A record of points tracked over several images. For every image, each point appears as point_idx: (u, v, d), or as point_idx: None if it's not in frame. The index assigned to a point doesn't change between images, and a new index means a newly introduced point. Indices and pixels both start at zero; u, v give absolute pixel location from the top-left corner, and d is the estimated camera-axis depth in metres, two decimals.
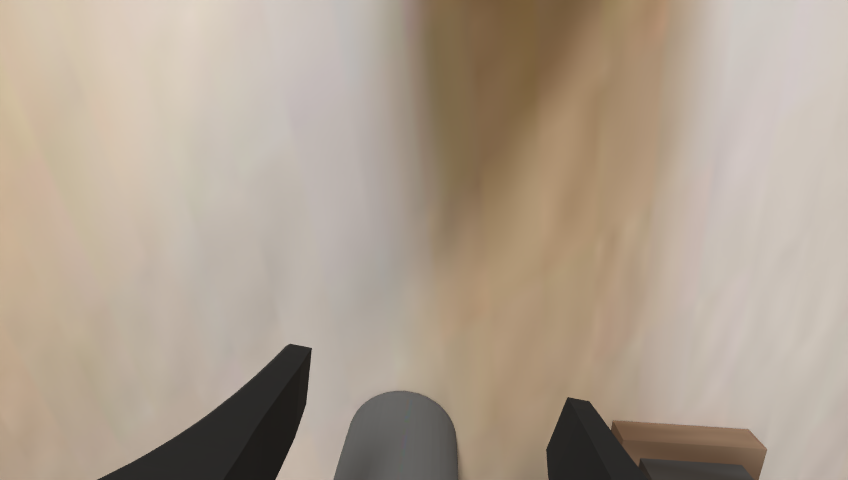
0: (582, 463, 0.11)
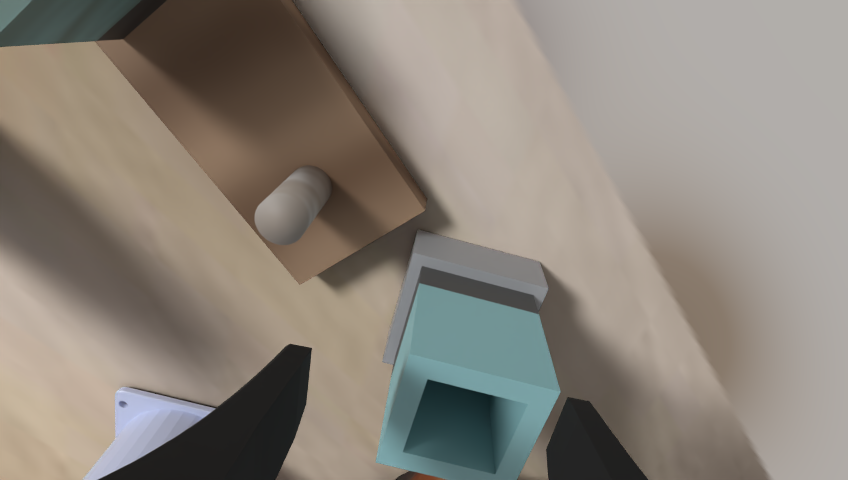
0: (582, 463, 0.11)
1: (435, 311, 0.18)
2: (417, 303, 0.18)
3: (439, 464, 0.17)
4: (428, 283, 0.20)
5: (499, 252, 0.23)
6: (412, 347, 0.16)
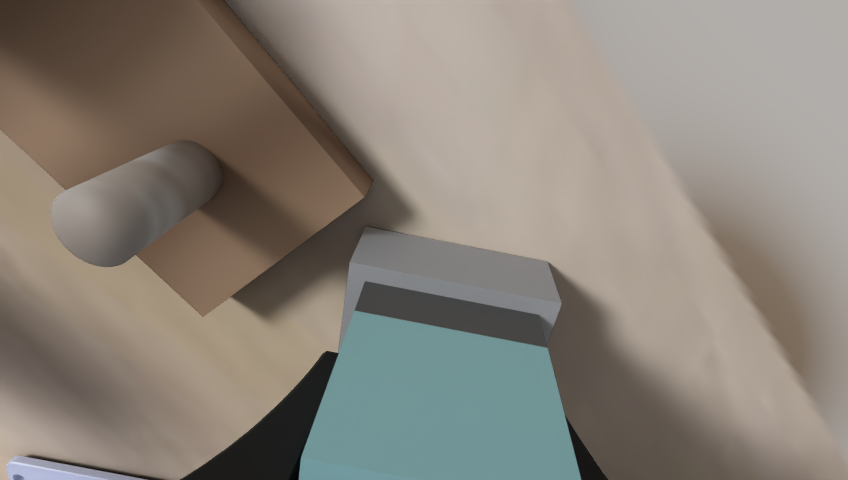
0: None
1: (371, 361, 0.11)
2: (342, 347, 0.11)
3: None
4: (369, 309, 0.12)
5: (487, 252, 0.16)
6: (311, 440, 0.09)
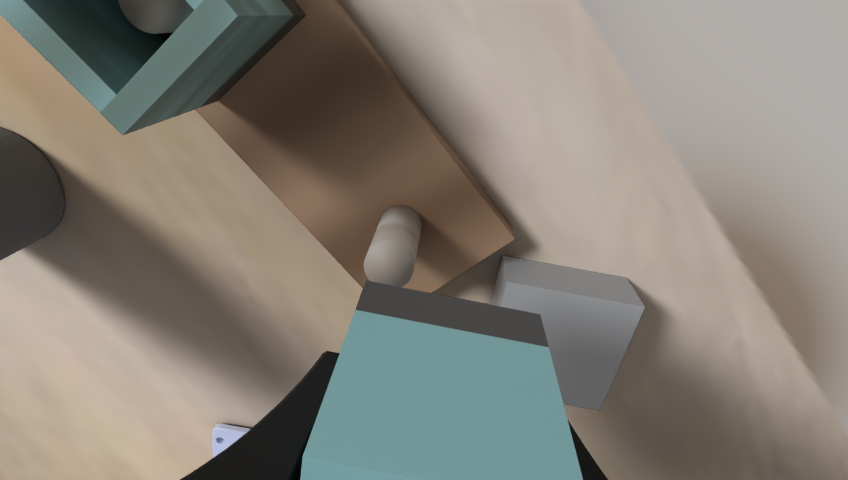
0: None
1: (372, 360, 0.11)
2: (343, 347, 0.11)
3: None
4: (370, 308, 0.12)
5: (586, 272, 0.23)
6: (312, 440, 0.09)
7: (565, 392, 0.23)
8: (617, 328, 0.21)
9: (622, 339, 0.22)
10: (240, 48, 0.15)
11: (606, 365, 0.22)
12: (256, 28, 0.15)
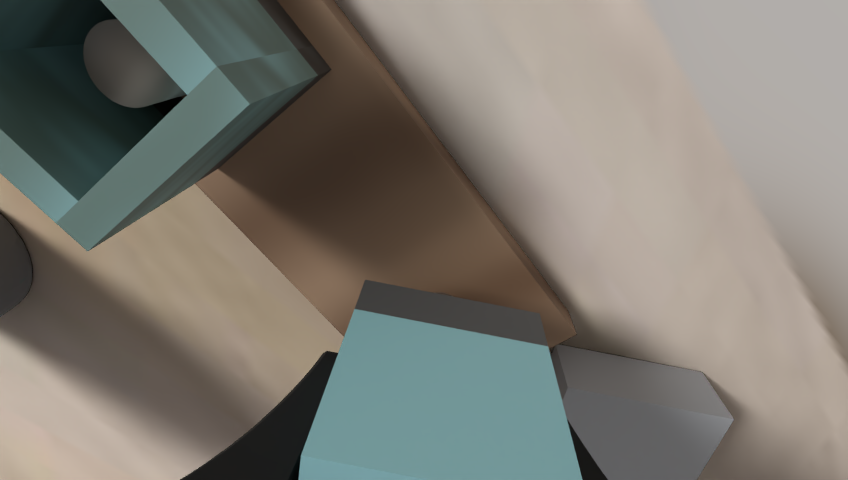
0: None
1: (371, 359, 0.11)
2: (342, 346, 0.11)
3: None
4: (370, 307, 0.12)
5: (654, 365, 0.19)
6: (310, 439, 0.09)
7: None
8: (697, 441, 0.18)
9: (702, 453, 0.18)
10: (249, 125, 0.11)
11: None
12: (272, 103, 0.11)
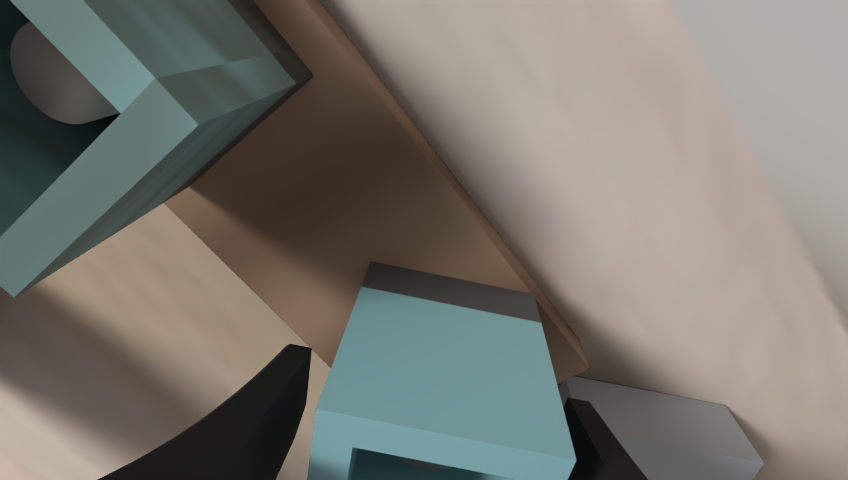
0: (582, 463, 0.11)
1: (377, 330, 0.12)
2: (351, 318, 0.12)
3: None
4: (375, 285, 0.13)
5: (673, 398, 0.18)
6: (324, 395, 0.09)
7: None
8: None
9: None
10: (213, 143, 0.10)
11: None
12: (237, 118, 0.09)
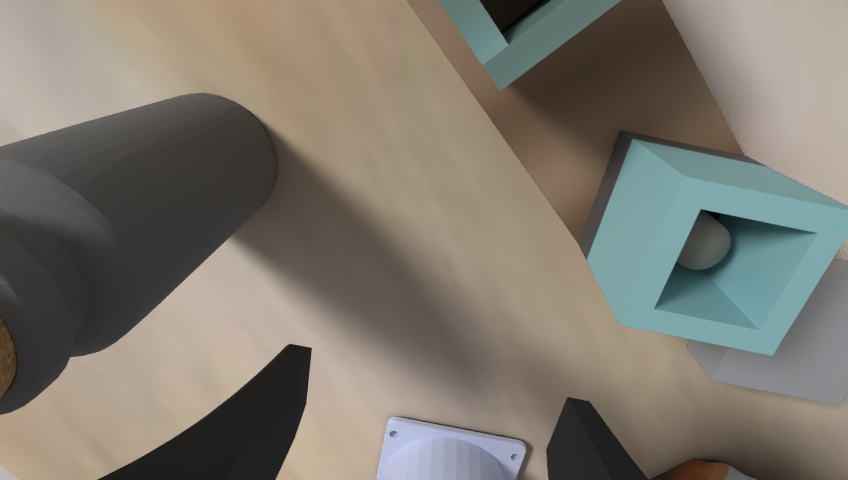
0: (582, 463, 0.11)
1: (671, 155, 0.16)
2: (647, 149, 0.16)
3: (694, 322, 0.15)
4: (640, 139, 0.18)
5: None
6: (681, 172, 0.14)
7: (805, 385, 0.22)
8: None
9: None
10: None
11: None
12: None
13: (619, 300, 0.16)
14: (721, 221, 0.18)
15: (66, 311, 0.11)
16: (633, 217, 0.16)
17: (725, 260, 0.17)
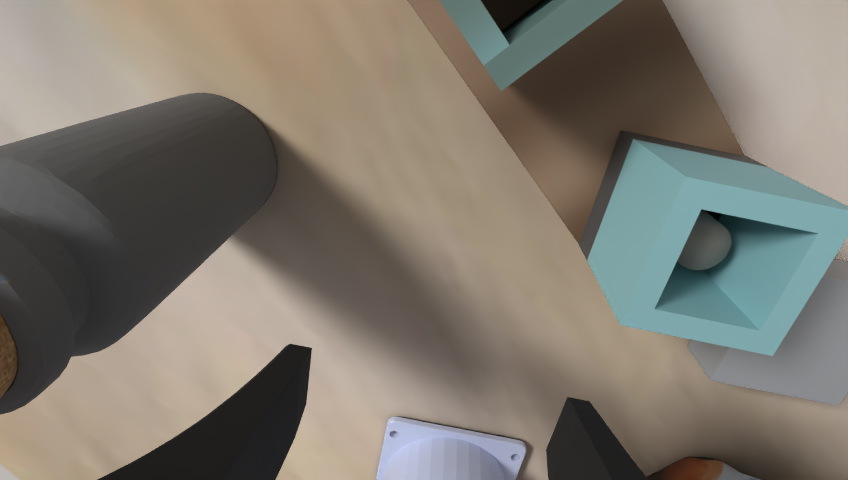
0: (582, 463, 0.11)
1: (672, 156, 0.16)
2: (648, 149, 0.16)
3: (695, 322, 0.15)
4: (641, 140, 0.18)
5: None
6: (682, 173, 0.14)
7: (805, 385, 0.22)
8: None
9: None
10: None
11: None
12: None
13: (620, 300, 0.16)
14: (721, 221, 0.18)
15: (67, 310, 0.11)
16: (634, 217, 0.16)
17: (725, 260, 0.17)
